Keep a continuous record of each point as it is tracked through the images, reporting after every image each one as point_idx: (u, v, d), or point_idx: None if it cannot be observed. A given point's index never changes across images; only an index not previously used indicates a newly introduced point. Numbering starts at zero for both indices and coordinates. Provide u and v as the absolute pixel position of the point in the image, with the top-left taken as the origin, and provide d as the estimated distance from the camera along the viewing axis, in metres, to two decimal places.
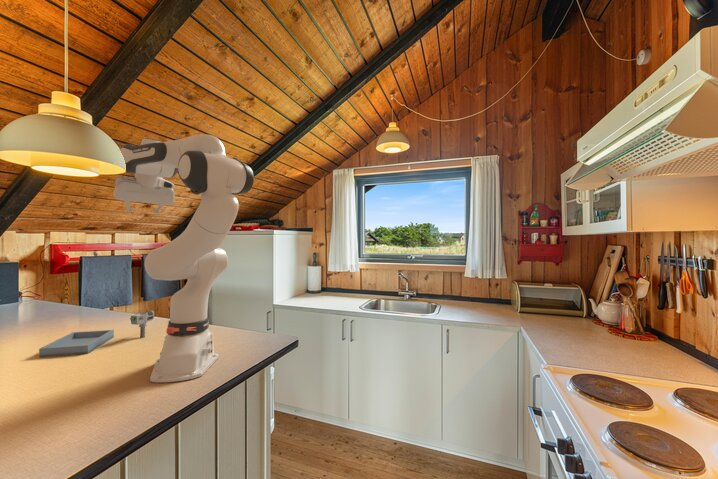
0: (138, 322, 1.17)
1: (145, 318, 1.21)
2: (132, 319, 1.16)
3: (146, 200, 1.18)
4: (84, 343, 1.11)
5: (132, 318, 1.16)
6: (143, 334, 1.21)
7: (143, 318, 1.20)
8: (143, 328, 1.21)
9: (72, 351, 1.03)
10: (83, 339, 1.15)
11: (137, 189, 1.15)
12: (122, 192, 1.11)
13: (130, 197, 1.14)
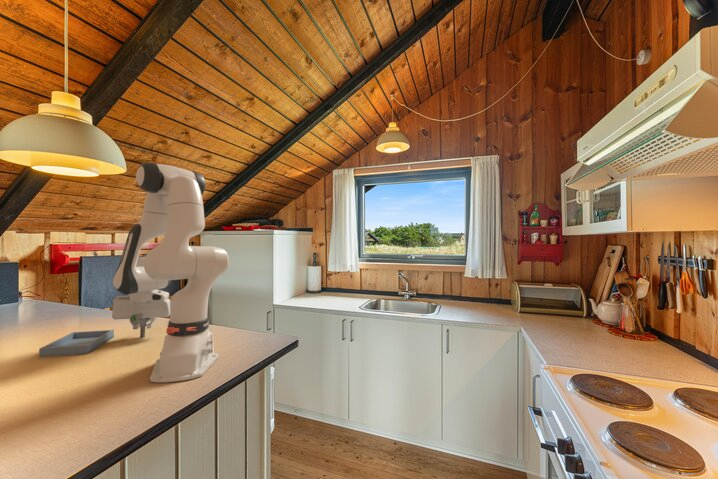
0: (138, 322, 1.18)
1: (145, 318, 1.21)
2: (132, 319, 1.16)
3: None
4: (84, 343, 1.11)
5: (132, 318, 1.16)
6: (143, 334, 1.21)
7: (143, 318, 1.20)
8: (143, 328, 1.21)
9: (72, 351, 1.03)
10: (83, 339, 1.15)
11: (130, 306, 1.19)
12: (116, 311, 1.17)
13: (124, 315, 1.18)
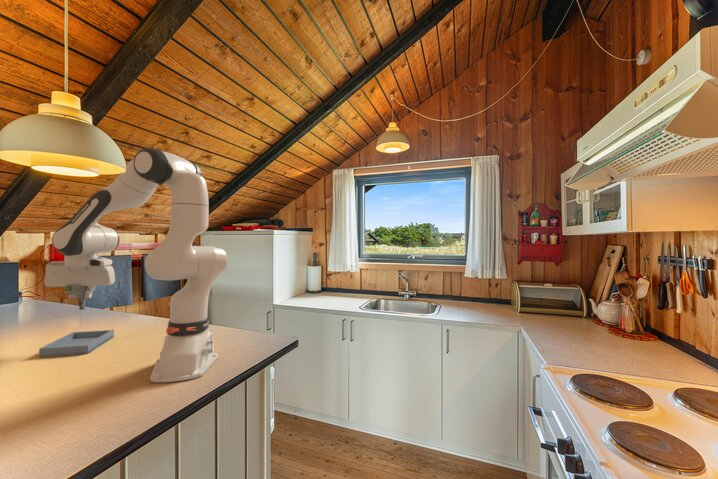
0: (75, 292, 1.07)
1: (84, 288, 1.10)
2: (67, 289, 1.05)
3: (77, 283, 1.08)
4: (84, 343, 1.11)
5: (67, 288, 1.05)
6: (83, 306, 1.10)
7: (81, 288, 1.09)
8: (82, 299, 1.10)
9: (72, 351, 1.03)
10: (83, 339, 1.15)
11: (66, 273, 1.08)
12: (49, 278, 1.06)
13: (58, 282, 1.07)
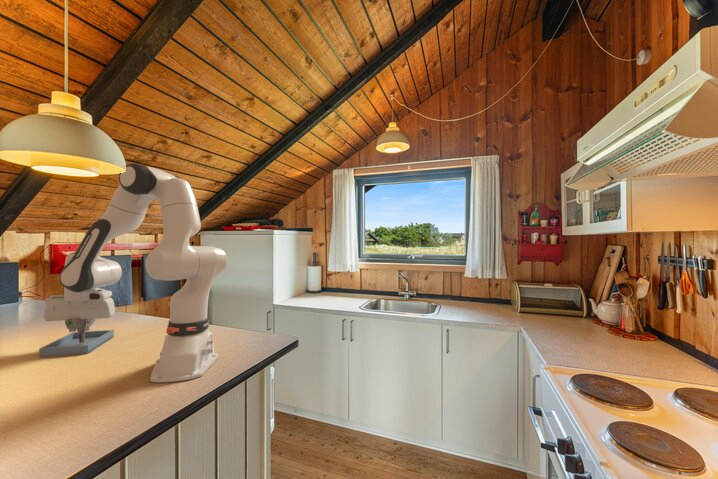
0: (75, 326, 1.07)
1: (84, 321, 1.10)
2: (67, 323, 1.05)
3: (76, 317, 1.08)
4: (84, 343, 1.11)
5: (67, 322, 1.05)
6: (83, 339, 1.10)
7: (81, 322, 1.09)
8: (82, 332, 1.10)
9: (72, 351, 1.03)
10: None
11: (65, 306, 1.08)
12: (49, 312, 1.06)
13: (58, 316, 1.07)
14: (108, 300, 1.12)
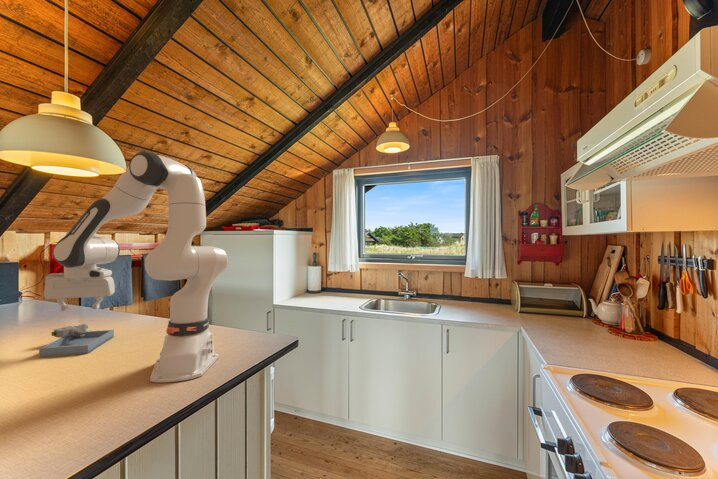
0: (60, 330, 1.11)
1: (70, 327, 1.14)
2: (53, 333, 1.10)
3: (76, 295, 1.08)
4: (84, 343, 1.11)
5: (52, 333, 1.10)
6: (79, 332, 1.11)
7: (67, 328, 1.13)
8: (76, 331, 1.12)
9: (72, 351, 1.03)
10: (83, 339, 1.15)
11: (65, 284, 1.07)
12: (49, 290, 1.06)
13: (58, 294, 1.07)
14: (108, 278, 1.12)
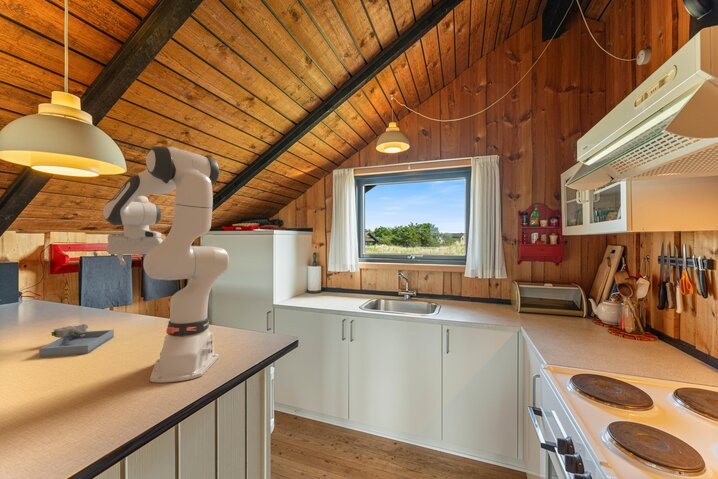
0: (60, 330, 1.11)
1: (70, 327, 1.14)
2: (53, 333, 1.10)
3: (133, 252, 1.26)
4: (84, 343, 1.11)
5: (52, 333, 1.10)
6: (79, 332, 1.11)
7: (67, 328, 1.13)
8: (76, 331, 1.12)
9: (72, 351, 1.03)
10: (83, 339, 1.15)
11: (124, 242, 1.25)
12: (111, 246, 1.24)
13: (118, 250, 1.24)
14: (159, 239, 1.30)
